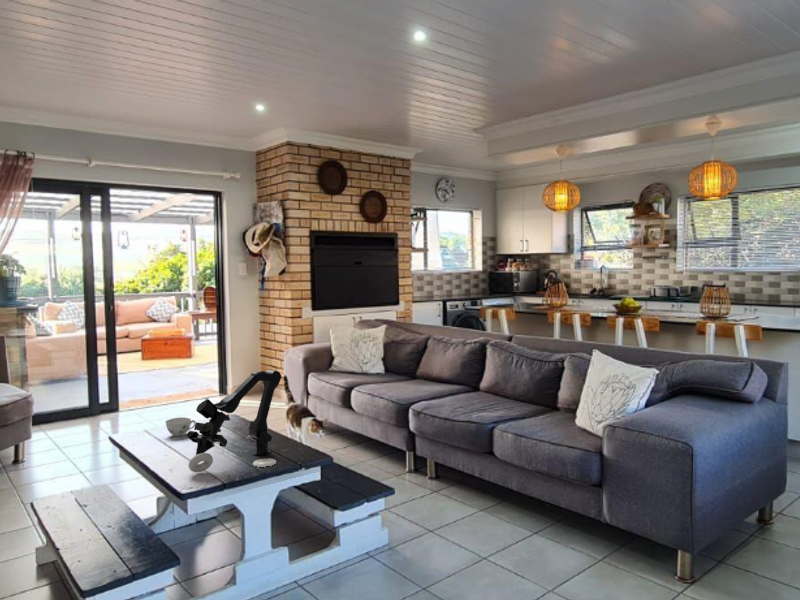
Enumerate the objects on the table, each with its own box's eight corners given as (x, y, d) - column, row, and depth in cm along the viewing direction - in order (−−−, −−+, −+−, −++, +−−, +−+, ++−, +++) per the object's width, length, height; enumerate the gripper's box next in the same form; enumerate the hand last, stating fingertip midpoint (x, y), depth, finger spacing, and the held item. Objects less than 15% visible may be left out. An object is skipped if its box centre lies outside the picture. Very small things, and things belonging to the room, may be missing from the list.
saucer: (258, 459, 263) (258, 457, 263) (279, 460, 261) (279, 458, 261) (249, 467, 253) (249, 465, 253) (270, 468, 251) (270, 466, 251)
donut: (189, 477, 243) (190, 460, 238) (187, 470, 245) (187, 454, 240) (213, 470, 248) (214, 454, 243) (211, 464, 251) (212, 448, 245)
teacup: (168, 440, 297) (168, 424, 296) (163, 434, 307) (163, 419, 307) (198, 435, 305) (198, 420, 305) (193, 429, 315) (192, 415, 315)
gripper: (188, 412, 253) (169, 444, 244) (222, 416, 246) (203, 449, 236) (202, 426, 261) (184, 457, 251) (235, 430, 253) (217, 462, 243)
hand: (196, 456), depth 245 cm, fingers closed
